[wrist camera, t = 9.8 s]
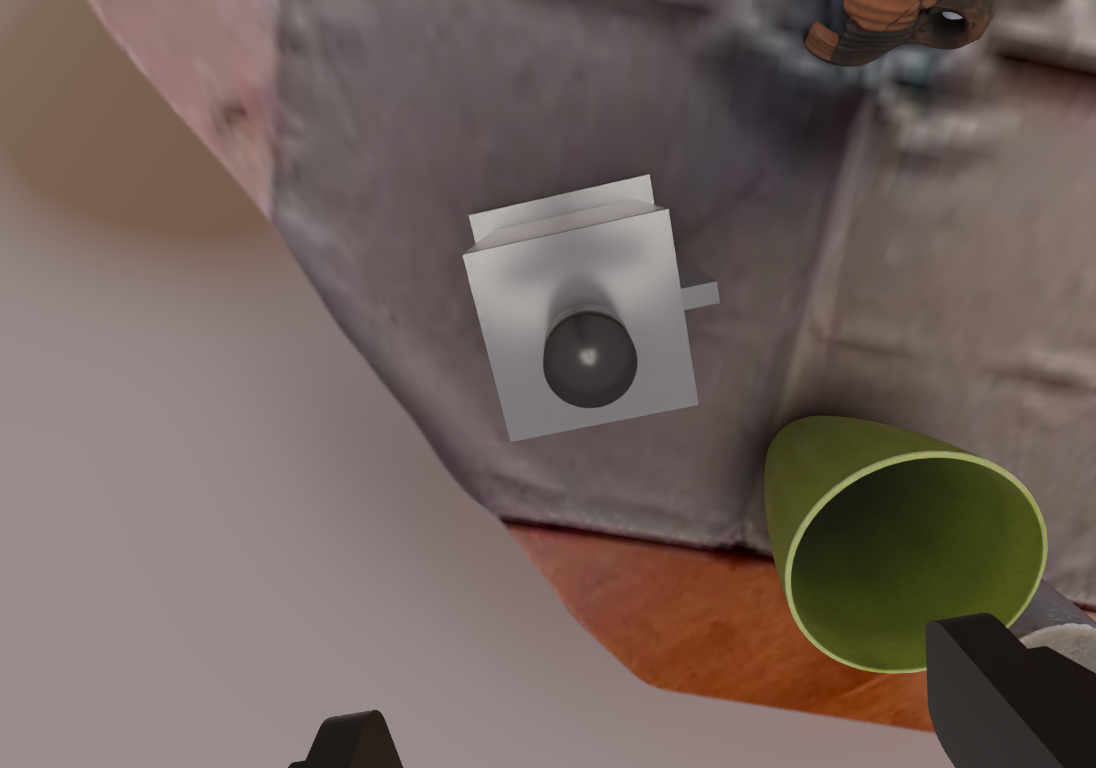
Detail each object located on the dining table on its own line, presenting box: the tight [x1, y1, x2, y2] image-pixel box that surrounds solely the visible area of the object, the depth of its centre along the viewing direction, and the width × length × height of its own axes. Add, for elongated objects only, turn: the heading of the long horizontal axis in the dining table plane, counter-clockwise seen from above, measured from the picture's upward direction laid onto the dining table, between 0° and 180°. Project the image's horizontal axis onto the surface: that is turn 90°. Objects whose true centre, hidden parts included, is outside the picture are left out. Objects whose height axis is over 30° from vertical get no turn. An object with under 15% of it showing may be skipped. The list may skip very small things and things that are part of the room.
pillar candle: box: [1008, 578, 1096, 673], centre depth 47 cm, size 10×10×15 cm
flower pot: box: [764, 416, 1047, 673], centre depth 44 cm, size 15×15×16 cm
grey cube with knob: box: [463, 174, 720, 442], centre depth 39 cm, size 13×14×16 cm
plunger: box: [543, 304, 638, 408], centre depth 35 cm, size 8×8×19 cm
